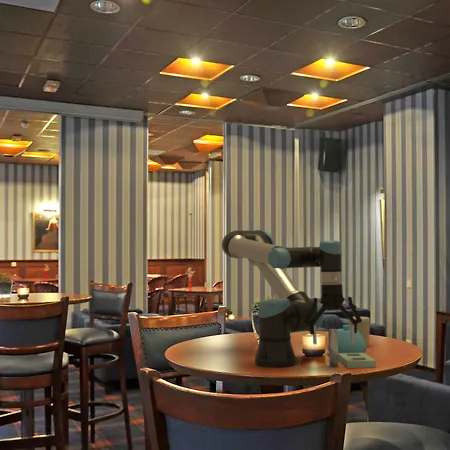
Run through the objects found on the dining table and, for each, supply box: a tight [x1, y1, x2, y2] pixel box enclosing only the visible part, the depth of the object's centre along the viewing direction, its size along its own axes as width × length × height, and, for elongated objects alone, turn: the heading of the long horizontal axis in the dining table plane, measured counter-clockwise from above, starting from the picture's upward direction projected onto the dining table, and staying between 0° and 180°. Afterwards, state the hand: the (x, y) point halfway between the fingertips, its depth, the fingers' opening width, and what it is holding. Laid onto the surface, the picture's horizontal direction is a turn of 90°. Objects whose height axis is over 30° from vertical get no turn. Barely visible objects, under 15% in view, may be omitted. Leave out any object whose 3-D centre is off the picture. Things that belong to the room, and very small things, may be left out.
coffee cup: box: [347, 316, 371, 348], centre depth 255 cm, size 9×9×12 cm
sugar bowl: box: [327, 324, 367, 354], centre depth 236 cm, size 15×15×12 cm
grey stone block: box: [327, 328, 339, 368], centre depth 214 cm, size 3×3×13 cm
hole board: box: [338, 352, 377, 369], centre depth 217 cm, size 10×16×2 cm, turn 2°
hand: (333, 343), depth 214 cm, fingers open, 13 cm apart
